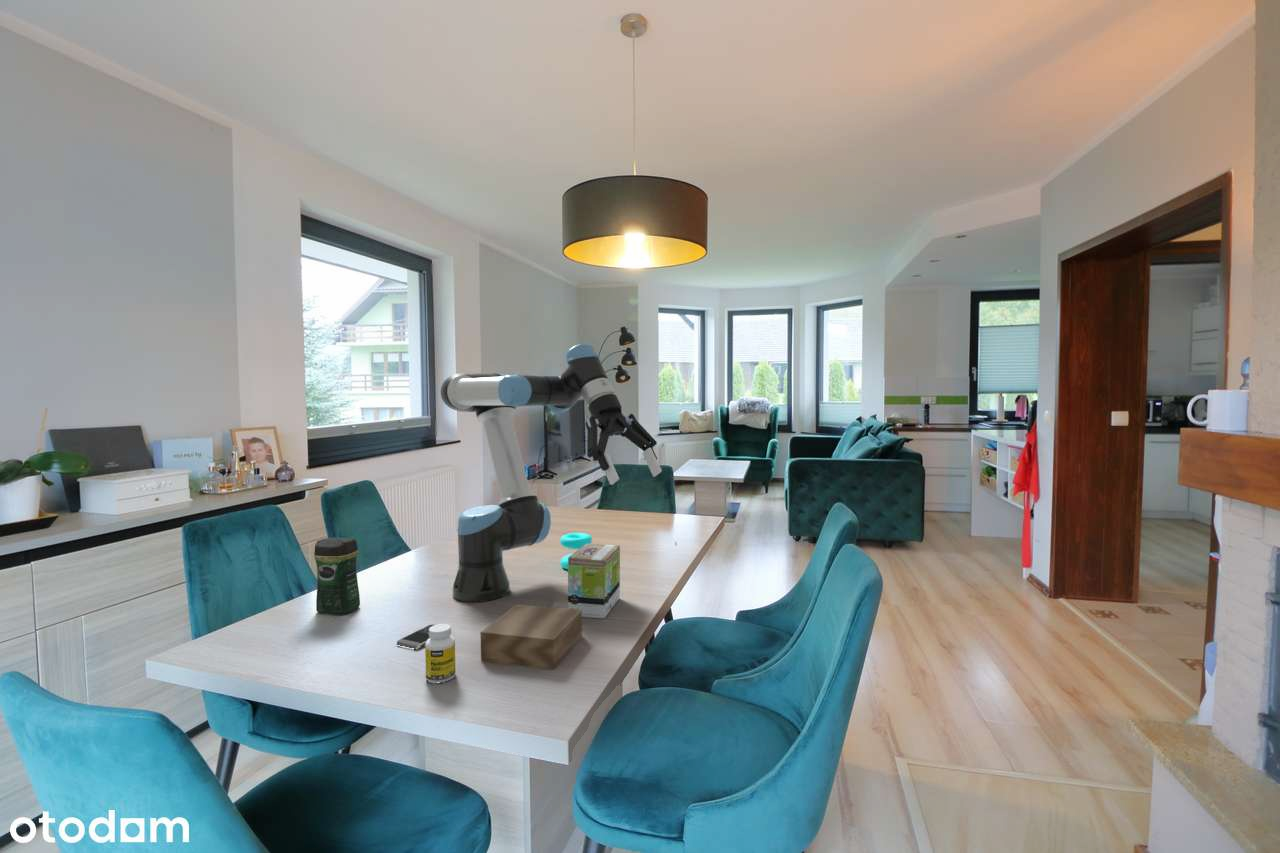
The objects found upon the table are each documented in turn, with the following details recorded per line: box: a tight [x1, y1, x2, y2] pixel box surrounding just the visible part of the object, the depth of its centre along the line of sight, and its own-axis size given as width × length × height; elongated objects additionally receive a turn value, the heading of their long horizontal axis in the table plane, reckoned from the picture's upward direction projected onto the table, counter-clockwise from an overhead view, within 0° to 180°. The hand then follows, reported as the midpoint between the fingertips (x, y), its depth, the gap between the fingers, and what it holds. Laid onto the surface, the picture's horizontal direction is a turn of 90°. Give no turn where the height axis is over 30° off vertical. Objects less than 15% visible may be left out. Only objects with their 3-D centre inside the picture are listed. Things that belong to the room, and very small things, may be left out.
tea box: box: [567, 543, 621, 619], centre depth 146 cm, size 15×10×15 cm
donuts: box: [560, 532, 593, 570], centre depth 181 cm, size 10×10×10 cm
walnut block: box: [480, 603, 583, 670], centre depth 122 cm, size 16×16×6 cm
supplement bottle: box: [424, 623, 456, 684], centre depth 109 cm, size 5×5×10 cm
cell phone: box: [396, 624, 435, 649], centre depth 128 cm, size 6×11×1 cm, turn 156°
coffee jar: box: [313, 537, 361, 616], centre depth 145 cm, size 10×8×19 cm
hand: (637, 478), depth 131 cm, fingers open, 13 cm apart
